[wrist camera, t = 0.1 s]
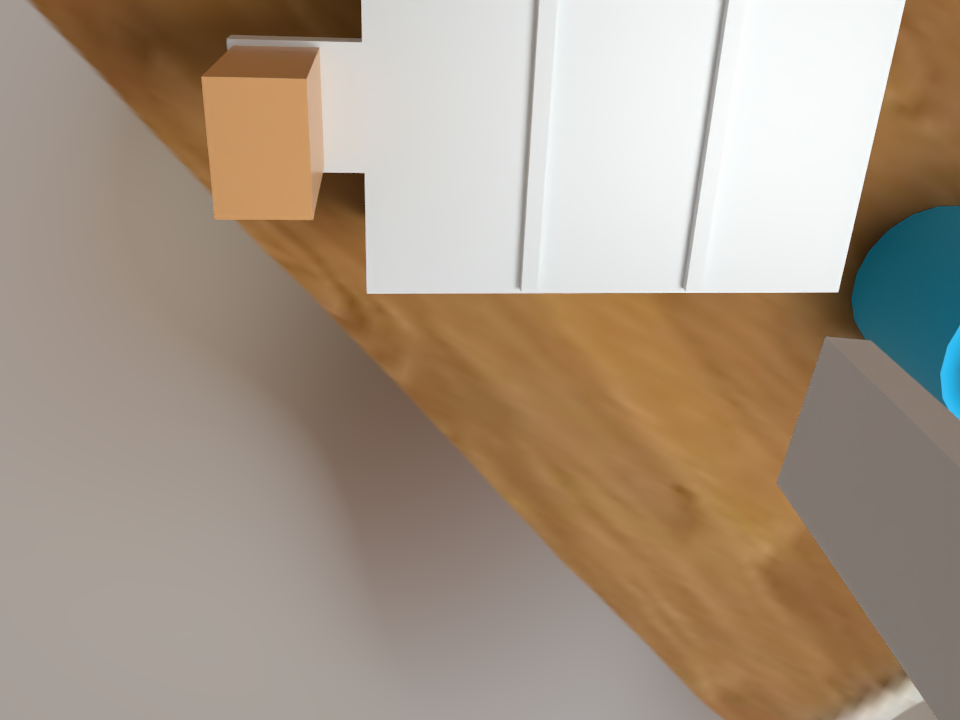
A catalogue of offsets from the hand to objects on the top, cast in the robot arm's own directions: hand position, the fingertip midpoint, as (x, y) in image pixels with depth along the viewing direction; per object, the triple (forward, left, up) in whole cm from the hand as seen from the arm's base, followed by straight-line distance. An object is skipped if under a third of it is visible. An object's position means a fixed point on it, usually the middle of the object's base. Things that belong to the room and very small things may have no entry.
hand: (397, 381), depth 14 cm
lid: (0, +6, -21) cm, 22 cm away
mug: (+11, +29, -28) cm, 42 cm away
